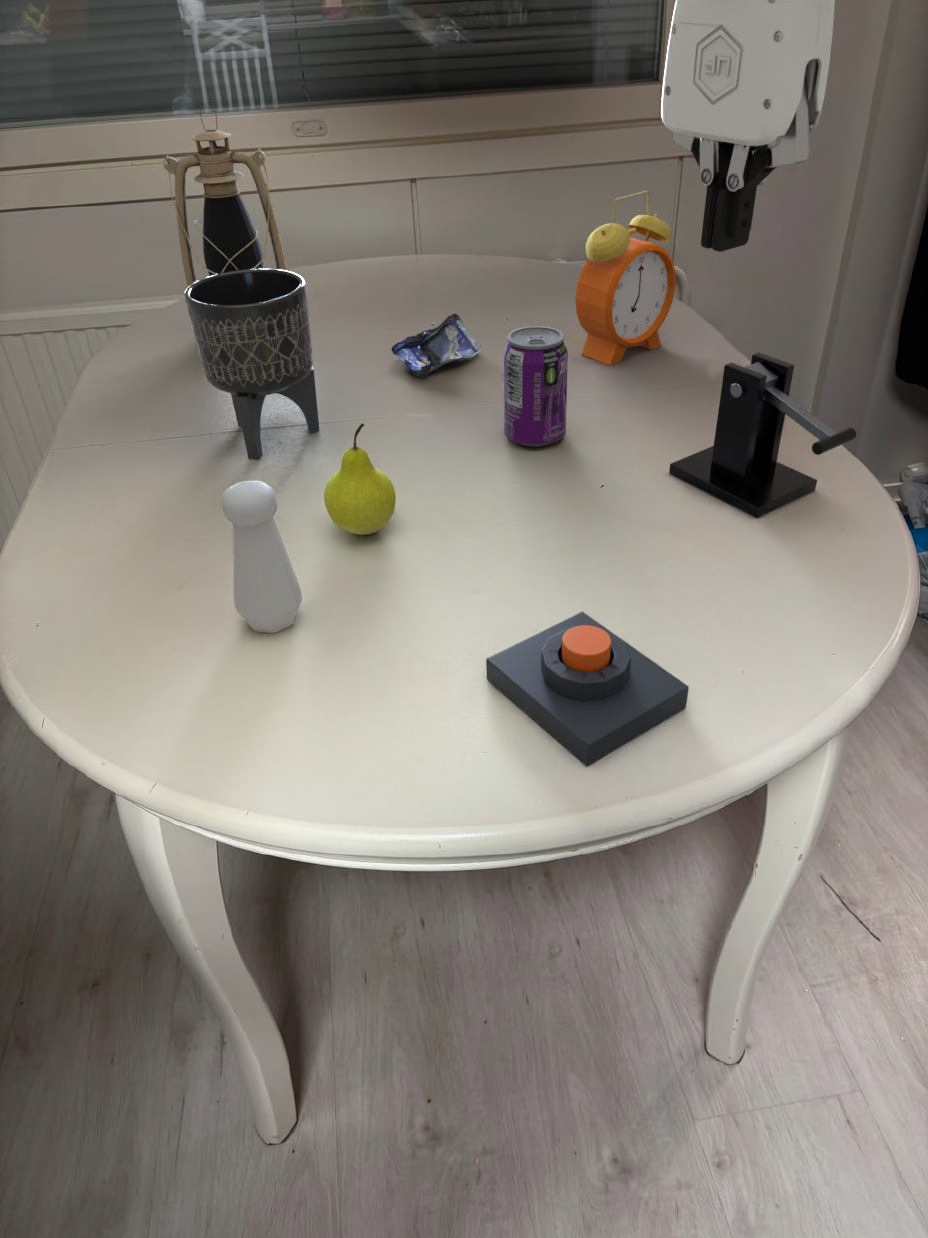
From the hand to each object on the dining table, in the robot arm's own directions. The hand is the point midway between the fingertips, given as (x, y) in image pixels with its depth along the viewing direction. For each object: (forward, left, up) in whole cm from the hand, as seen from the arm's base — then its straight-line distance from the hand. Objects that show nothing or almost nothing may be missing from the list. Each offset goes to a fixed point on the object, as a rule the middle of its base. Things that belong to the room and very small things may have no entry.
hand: (724, 245), depth 66 cm
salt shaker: (+18, +32, -29) cm, 47 cm away
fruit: (+26, +18, -29) cm, 43 cm away
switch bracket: (+9, -18, -29) cm, 36 cm away
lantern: (+86, +3, -29) cm, 91 cm away
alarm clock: (+44, -34, -29) cm, 63 cm away
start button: (-6, +17, -25) cm, 31 cm away
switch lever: (+5, -18, -21) cm, 28 cm away
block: (-6, +17, -29) cm, 34 cm away
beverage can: (+31, -8, -29) cm, 44 cm away
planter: (+51, +16, -29) cm, 61 cm away
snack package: (+57, -12, -29) cm, 65 cm away
